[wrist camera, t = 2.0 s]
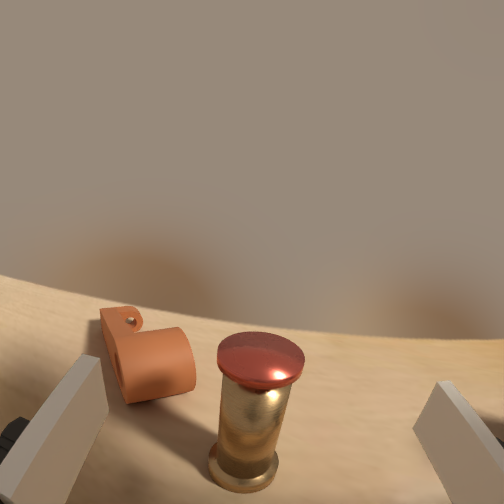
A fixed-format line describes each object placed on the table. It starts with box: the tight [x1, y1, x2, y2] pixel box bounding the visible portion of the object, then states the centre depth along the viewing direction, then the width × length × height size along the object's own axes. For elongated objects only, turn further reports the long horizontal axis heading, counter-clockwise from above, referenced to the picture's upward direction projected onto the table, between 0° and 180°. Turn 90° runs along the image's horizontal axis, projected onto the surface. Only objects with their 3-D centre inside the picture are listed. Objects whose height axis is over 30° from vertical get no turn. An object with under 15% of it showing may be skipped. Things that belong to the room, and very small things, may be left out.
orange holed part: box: [100, 306, 196, 404], centre depth 38 cm, size 20×8×8 cm, turn 33°
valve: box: [208, 332, 305, 493], centre depth 22 cm, size 6×6×14 cm
